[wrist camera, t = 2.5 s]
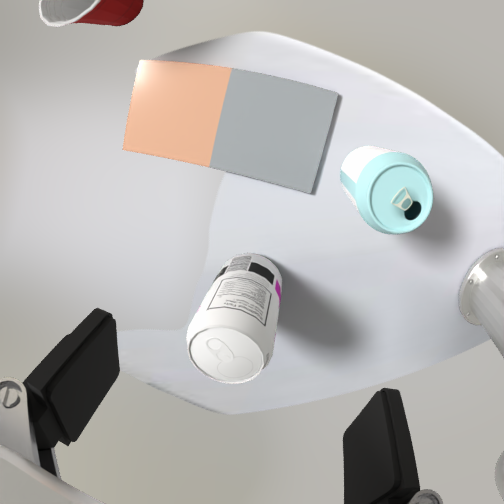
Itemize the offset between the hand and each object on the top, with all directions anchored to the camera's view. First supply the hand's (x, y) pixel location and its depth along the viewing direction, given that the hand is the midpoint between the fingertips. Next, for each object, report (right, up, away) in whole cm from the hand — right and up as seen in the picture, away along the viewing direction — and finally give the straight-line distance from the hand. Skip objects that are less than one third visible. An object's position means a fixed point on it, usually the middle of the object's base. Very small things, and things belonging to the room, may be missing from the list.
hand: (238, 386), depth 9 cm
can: (+14, +13, +23) cm, 30 cm away
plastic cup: (-16, +37, +18) cm, 44 cm away
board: (-3, +20, +22) cm, 30 cm away
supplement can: (0, +1, +30) cm, 30 cm away
